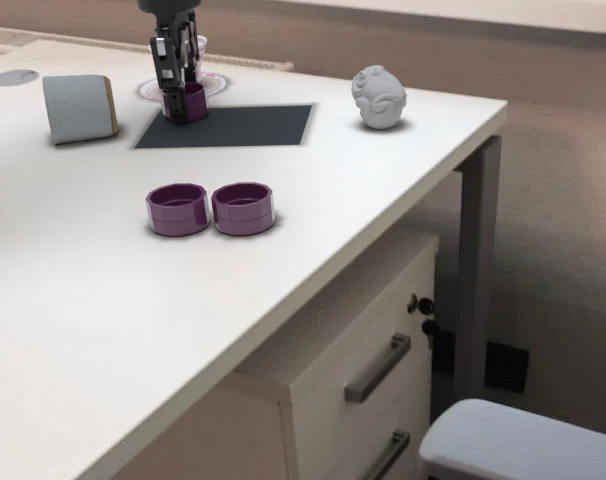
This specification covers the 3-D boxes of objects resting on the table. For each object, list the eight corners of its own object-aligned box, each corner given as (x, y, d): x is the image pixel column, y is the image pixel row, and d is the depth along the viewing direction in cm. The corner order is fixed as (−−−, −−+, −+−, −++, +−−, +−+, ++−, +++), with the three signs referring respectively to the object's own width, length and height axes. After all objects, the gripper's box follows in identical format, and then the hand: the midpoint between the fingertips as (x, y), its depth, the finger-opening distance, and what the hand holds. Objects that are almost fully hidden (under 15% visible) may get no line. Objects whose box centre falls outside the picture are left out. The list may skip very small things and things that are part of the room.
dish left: (159, 124, 111) (155, 96, 109) (170, 109, 116) (165, 82, 113) (204, 123, 110) (200, 95, 108) (213, 108, 115) (210, 80, 113)
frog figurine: (373, 115, 110) (373, 56, 105) (418, 126, 106) (419, 65, 102) (341, 130, 107) (339, 69, 102) (386, 141, 103) (385, 79, 98)
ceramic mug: (122, 143, 108) (110, 77, 103) (55, 153, 106) (39, 86, 102) (116, 117, 116) (104, 55, 111) (53, 126, 115) (38, 64, 110)
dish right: (211, 240, 85) (206, 207, 83) (222, 214, 90) (217, 182, 88) (270, 239, 85) (267, 206, 82) (278, 214, 89) (275, 181, 87)
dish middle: (145, 241, 86) (139, 207, 84) (160, 215, 91) (154, 183, 88) (203, 240, 85) (199, 207, 83) (215, 214, 90) (211, 182, 88)
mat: (134, 151, 105) (133, 148, 105) (161, 112, 116) (161, 109, 116) (299, 148, 103) (299, 144, 103) (312, 108, 114) (312, 105, 113)
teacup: (185, 109, 116) (178, 60, 112) (122, 96, 122) (113, 49, 118) (244, 83, 123) (239, 36, 120) (181, 72, 129) (175, 27, 125)
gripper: (147, -48, 108) (170, 93, 119) (115, -22, 97) (143, 131, 108) (207, -52, 107) (224, 91, 118) (182, -26, 96) (203, 130, 107)
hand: (185, 110), depth 113 cm, fingers open, 6 cm apart
